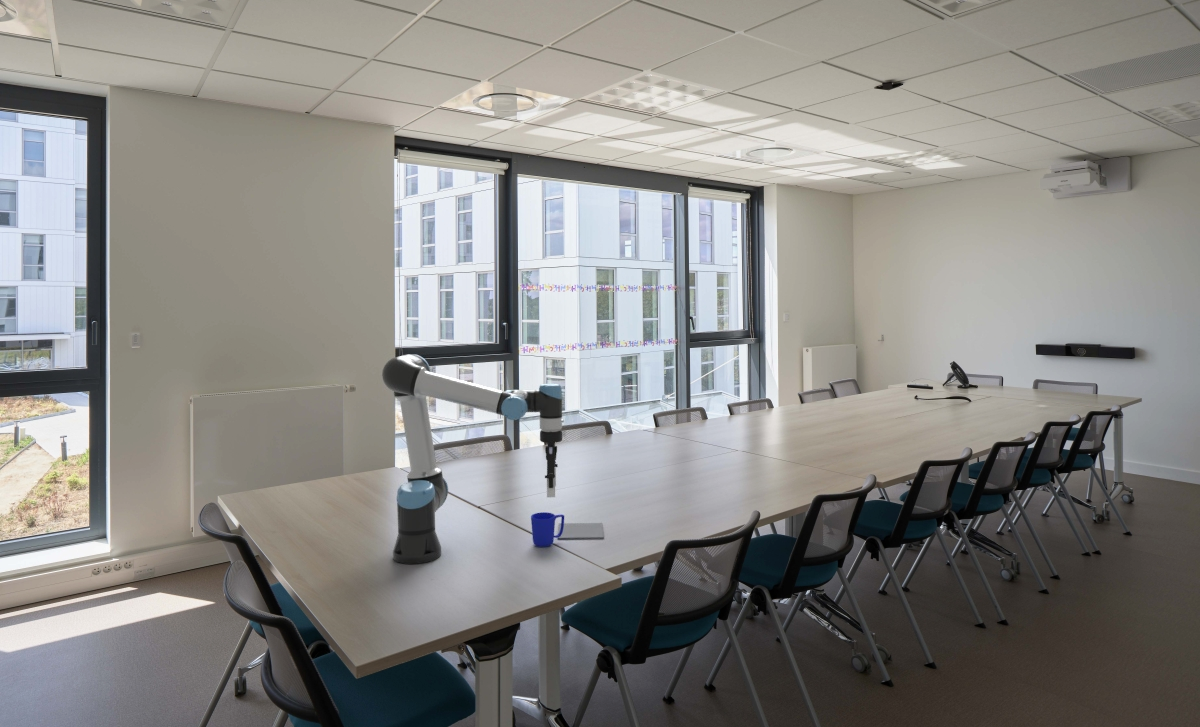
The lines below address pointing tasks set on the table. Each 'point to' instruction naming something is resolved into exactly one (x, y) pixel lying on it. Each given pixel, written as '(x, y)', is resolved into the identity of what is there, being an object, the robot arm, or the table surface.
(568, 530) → the coaster
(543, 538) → the mug
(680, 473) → the table surface
